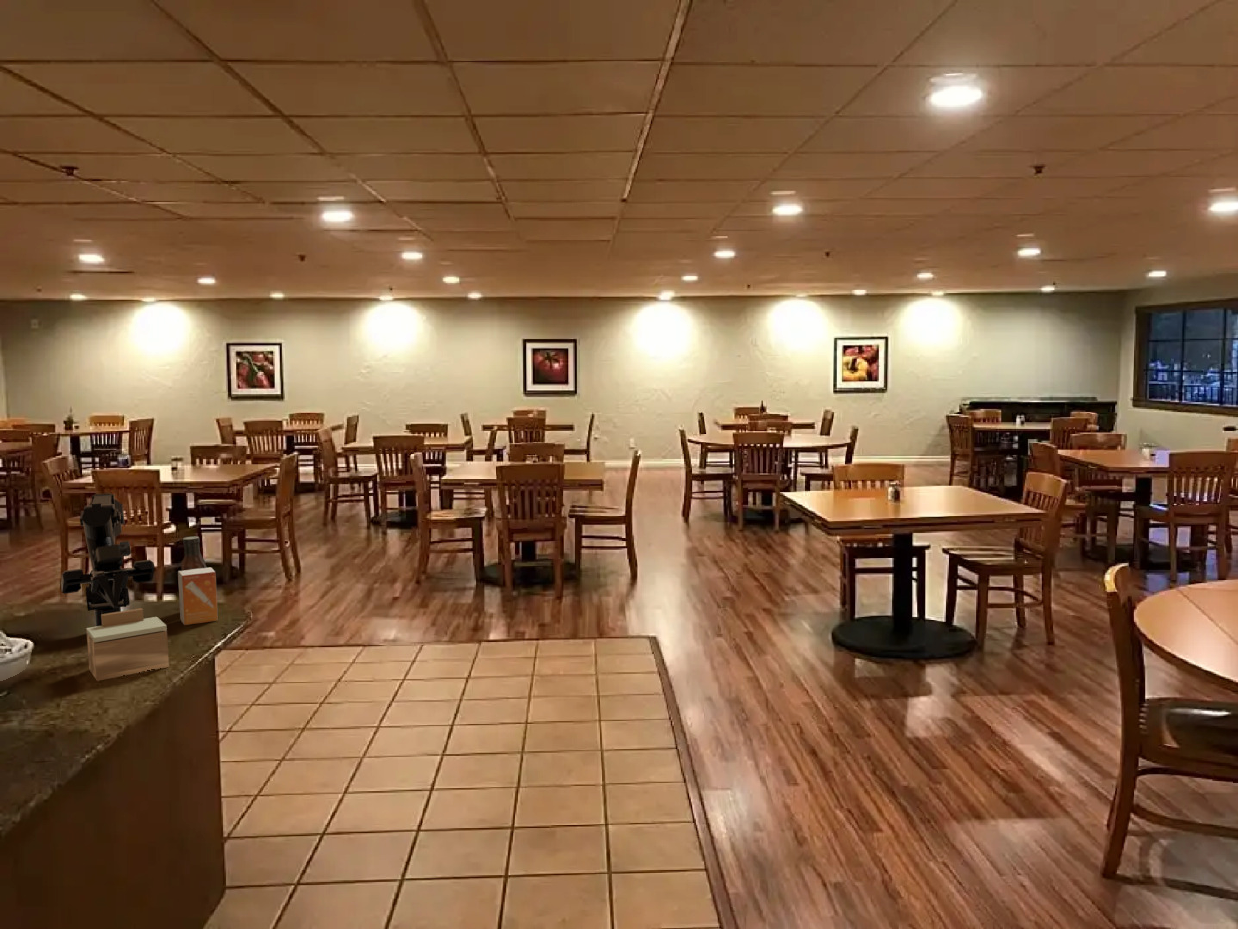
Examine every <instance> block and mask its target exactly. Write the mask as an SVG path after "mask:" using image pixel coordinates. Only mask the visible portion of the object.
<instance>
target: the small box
mask: <svg viewBox="0 0 1238 929" xmlns="http://www.w3.org/2000/svg"><path fill="white" fill-rule="evenodd" d="M177 577H178V578H177V580H178V581H177V582H178V596H179V597H178V600H179V602H178V603H179V615H180V621H181V622H182V624H183V625H184V626H188V625H194V624H195V625H196V624H202V623H209V622H217V621H218V620H219V619H218V616H219V615H218V598H217V597H218V596H217V577H216V570H214V568H213V567H207V568H201V569H191V570H184V571H182V570H178V571H177Z"/></svg>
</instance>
